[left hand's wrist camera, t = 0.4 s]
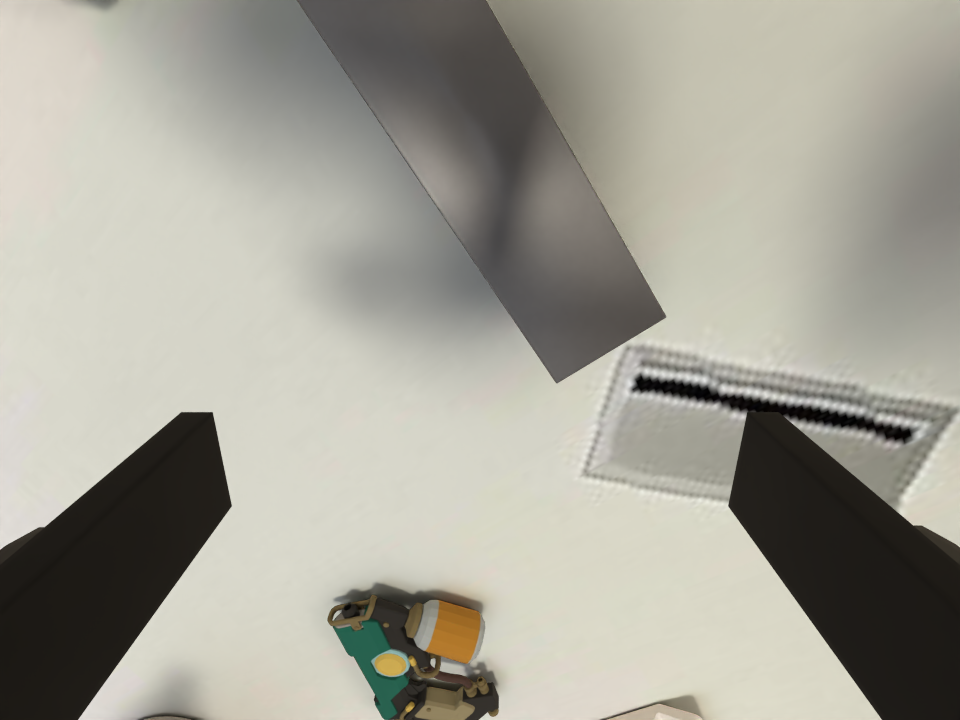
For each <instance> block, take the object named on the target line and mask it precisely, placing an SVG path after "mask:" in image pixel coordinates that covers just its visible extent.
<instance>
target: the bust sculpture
mask: <svg viewBox="0 0 960 720" xmlns="http://www.w3.org/2000/svg"><path fill="white" fill-rule="evenodd" d="M144 720H191V719H186V718H181V717H171V716H163V717H153V718H148V719H144Z"/></svg>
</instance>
